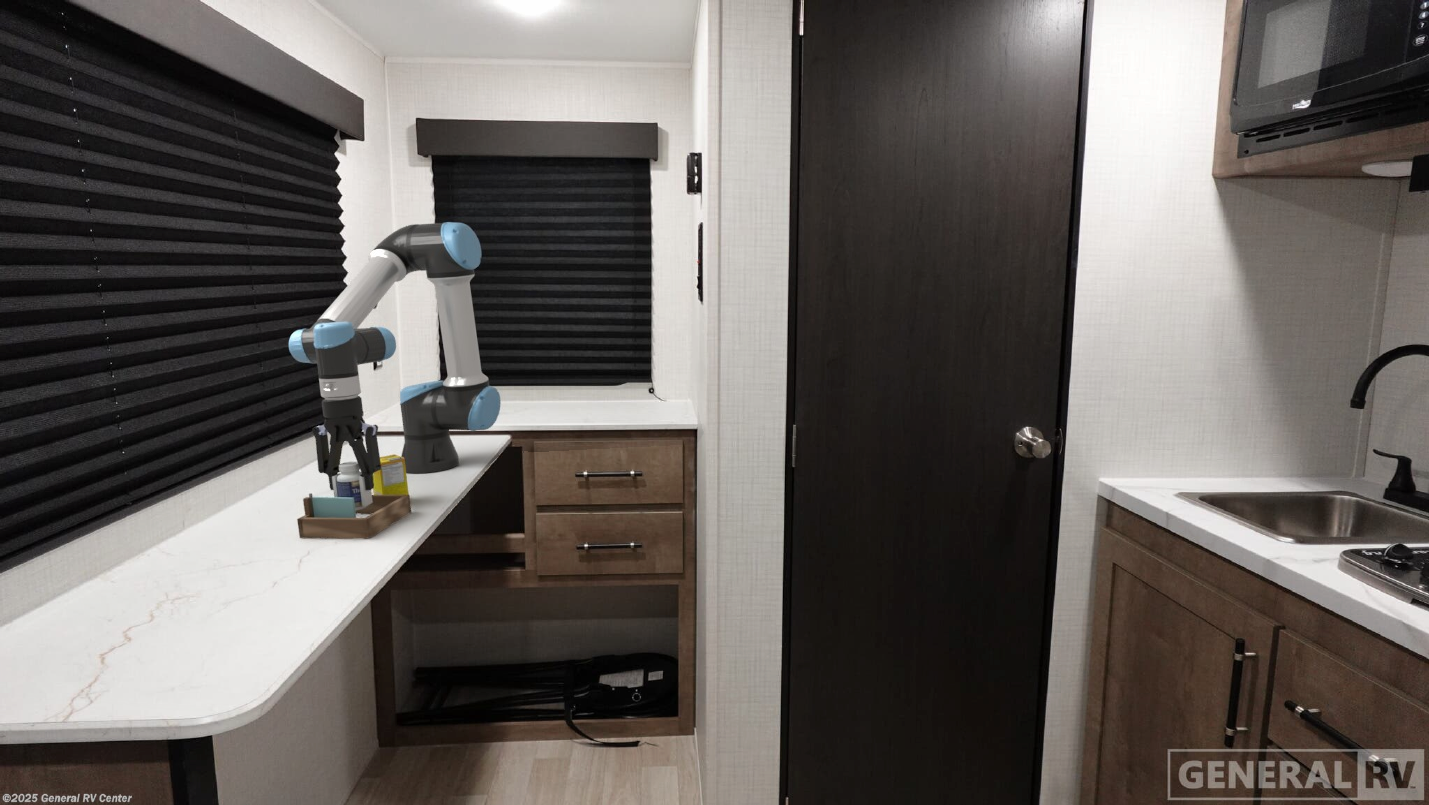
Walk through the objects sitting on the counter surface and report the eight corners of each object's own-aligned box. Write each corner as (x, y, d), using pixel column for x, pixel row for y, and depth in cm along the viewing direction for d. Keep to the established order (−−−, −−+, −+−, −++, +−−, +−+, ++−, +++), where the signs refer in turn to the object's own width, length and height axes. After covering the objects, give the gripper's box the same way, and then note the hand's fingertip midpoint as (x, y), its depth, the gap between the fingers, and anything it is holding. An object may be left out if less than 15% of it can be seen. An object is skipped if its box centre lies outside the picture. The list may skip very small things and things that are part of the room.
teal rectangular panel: (357, 530, 161) (353, 497, 159) (355, 531, 160) (351, 498, 159) (318, 529, 162) (314, 496, 161) (316, 530, 162) (311, 497, 161)
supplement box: (399, 498, 184) (394, 453, 182) (410, 503, 180) (405, 457, 178) (373, 504, 180) (368, 458, 178) (384, 509, 175) (379, 462, 174)
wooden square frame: (348, 511, 175) (344, 477, 173) (411, 512, 173) (407, 477, 171) (299, 538, 158) (294, 500, 157) (368, 538, 156) (364, 500, 155)
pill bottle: (357, 512, 163) (352, 467, 161) (334, 511, 164) (329, 466, 162) (373, 504, 168) (368, 460, 166) (351, 503, 169) (346, 460, 167)
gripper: (288, 400, 159) (302, 509, 163) (372, 399, 157) (385, 510, 161) (311, 394, 167) (324, 499, 171) (392, 393, 164) (403, 499, 168)
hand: (354, 504), depth 166 cm, fingers closed on pill bottle, 5 cm apart
